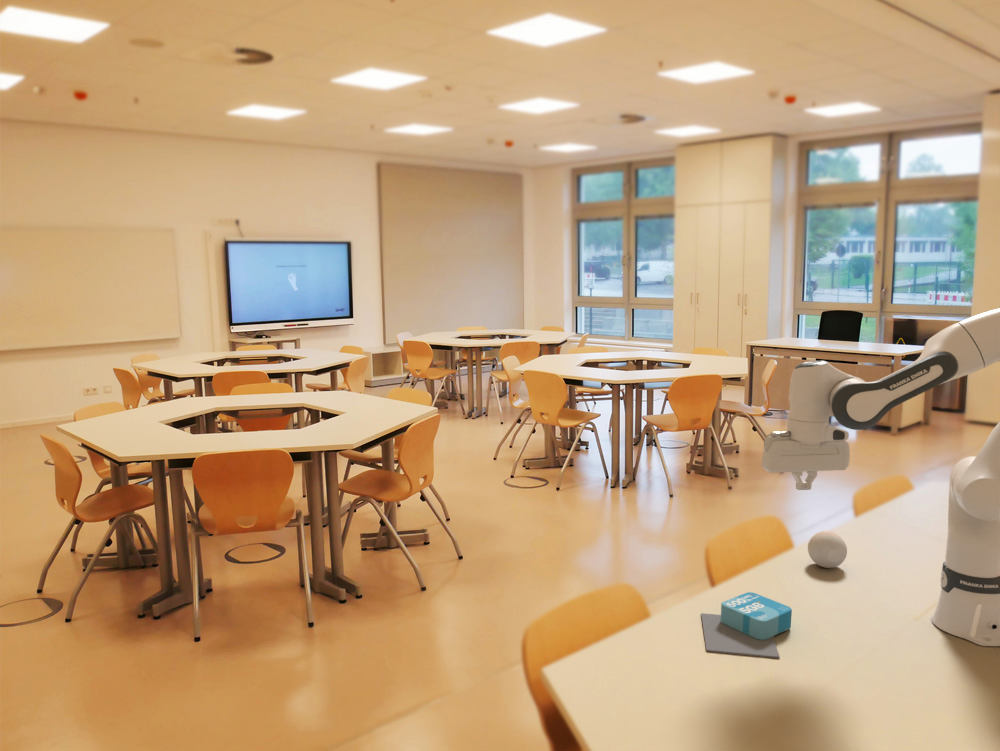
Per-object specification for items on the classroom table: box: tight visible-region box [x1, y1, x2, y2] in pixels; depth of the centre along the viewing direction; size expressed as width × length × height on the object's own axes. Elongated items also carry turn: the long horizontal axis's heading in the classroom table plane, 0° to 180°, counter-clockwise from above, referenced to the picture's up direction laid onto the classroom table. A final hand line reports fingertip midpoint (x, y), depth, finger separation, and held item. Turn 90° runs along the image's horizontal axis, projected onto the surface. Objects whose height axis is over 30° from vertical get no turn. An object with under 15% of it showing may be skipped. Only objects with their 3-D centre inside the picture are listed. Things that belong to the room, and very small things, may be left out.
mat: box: [700, 612, 781, 659], centre depth 173 cm, size 15×18×1 cm
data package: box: [720, 591, 793, 640], centre depth 178 cm, size 12×4×12 cm
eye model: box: [807, 530, 848, 569], centre depth 213 cm, size 10×10×10 cm
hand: (803, 489), depth 179 cm, fingers closed
